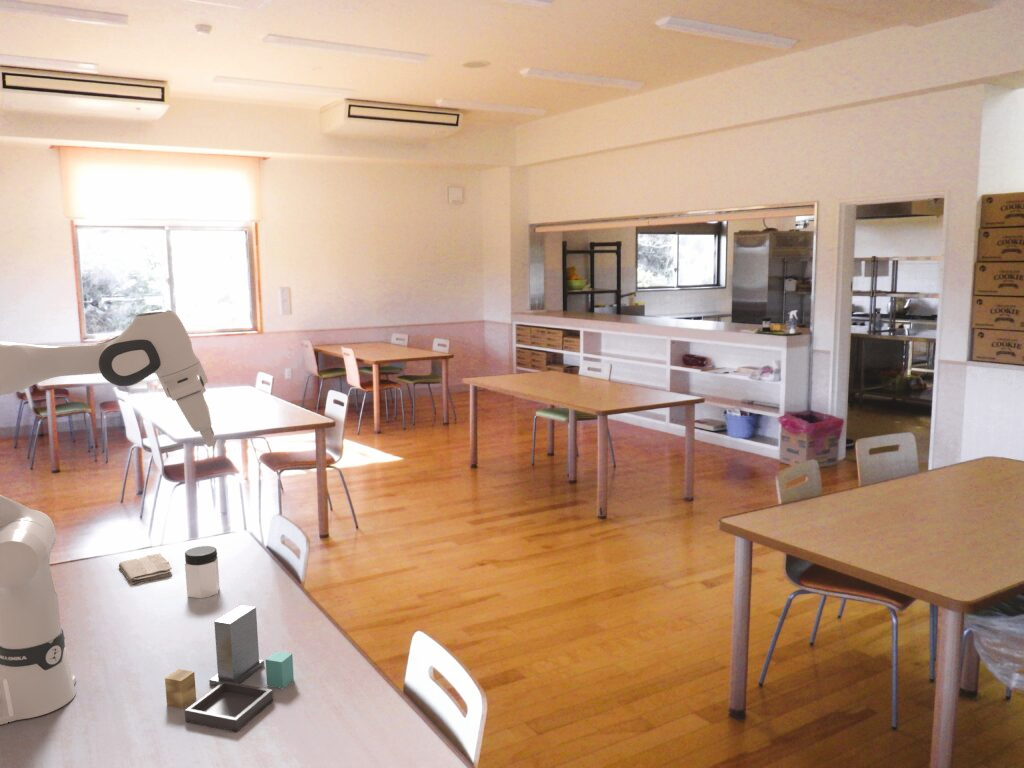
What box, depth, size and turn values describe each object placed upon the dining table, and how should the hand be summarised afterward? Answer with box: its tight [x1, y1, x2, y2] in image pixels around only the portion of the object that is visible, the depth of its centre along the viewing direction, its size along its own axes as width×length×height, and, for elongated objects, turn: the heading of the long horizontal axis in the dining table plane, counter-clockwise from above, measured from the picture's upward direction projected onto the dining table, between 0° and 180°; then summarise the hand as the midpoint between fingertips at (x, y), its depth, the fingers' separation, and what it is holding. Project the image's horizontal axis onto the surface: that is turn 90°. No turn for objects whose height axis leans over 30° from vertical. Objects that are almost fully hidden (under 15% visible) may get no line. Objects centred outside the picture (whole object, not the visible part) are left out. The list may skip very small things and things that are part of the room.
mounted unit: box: [208, 604, 265, 687], centre depth 181 cm, size 6×11×14 cm, turn 161°
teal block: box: [265, 651, 295, 689], centre depth 178 cm, size 4×4×6 cm
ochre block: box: [164, 668, 197, 709], centre depth 170 cm, size 4×4×6 cm
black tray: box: [184, 681, 274, 733], centre depth 167 cm, size 12×12×2 cm
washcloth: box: [118, 553, 173, 586], centre depth 243 cm, size 12×18×3 cm, turn 37°
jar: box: [184, 545, 220, 599], centre depth 227 cm, size 9×8×12 cm
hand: (211, 440), depth 177 cm, fingers open, 8 cm apart
